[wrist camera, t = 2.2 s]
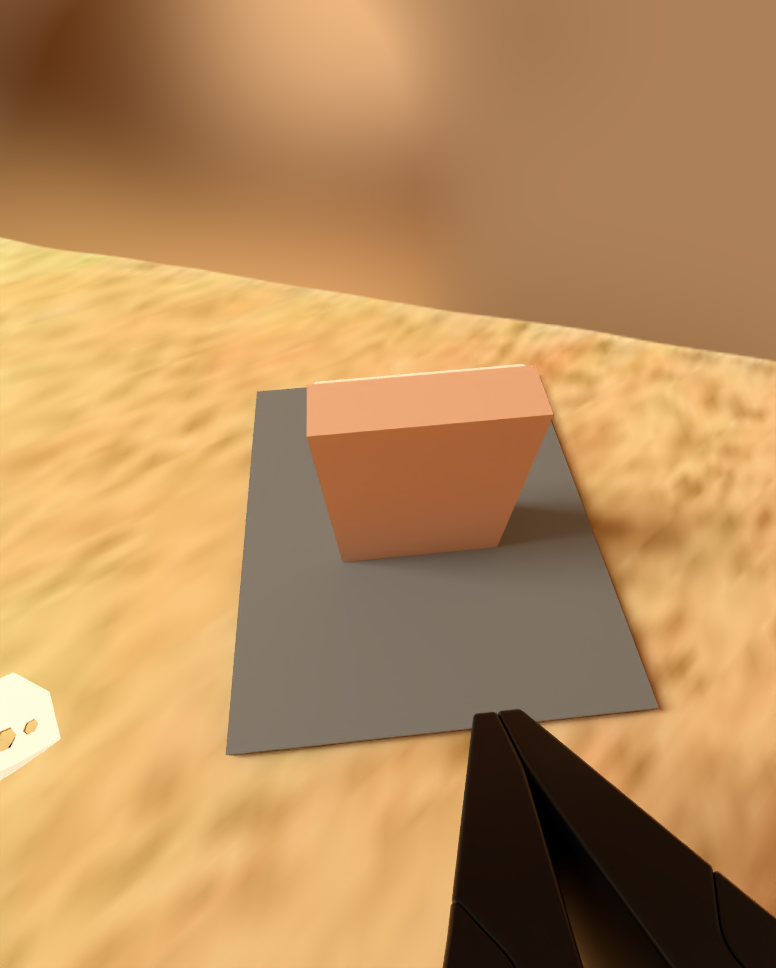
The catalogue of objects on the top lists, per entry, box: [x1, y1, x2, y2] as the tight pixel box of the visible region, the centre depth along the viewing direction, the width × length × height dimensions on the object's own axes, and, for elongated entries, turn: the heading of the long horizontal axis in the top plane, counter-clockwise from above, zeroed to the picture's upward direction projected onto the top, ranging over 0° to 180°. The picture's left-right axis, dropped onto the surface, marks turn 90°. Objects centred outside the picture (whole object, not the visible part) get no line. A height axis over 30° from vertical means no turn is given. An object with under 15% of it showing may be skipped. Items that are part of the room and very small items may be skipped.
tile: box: [307, 364, 554, 562], centre depth 17 cm, size 2×7×9 cm, turn 95°
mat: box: [226, 388, 659, 755], centre depth 22 cm, size 18×16×1 cm
